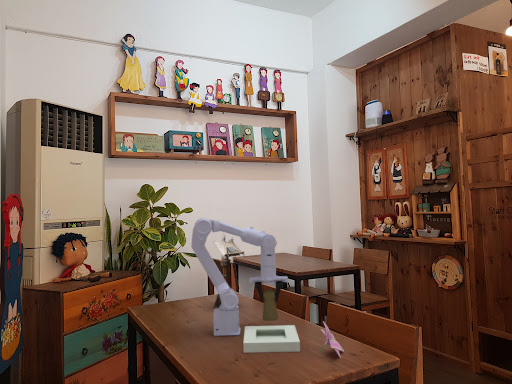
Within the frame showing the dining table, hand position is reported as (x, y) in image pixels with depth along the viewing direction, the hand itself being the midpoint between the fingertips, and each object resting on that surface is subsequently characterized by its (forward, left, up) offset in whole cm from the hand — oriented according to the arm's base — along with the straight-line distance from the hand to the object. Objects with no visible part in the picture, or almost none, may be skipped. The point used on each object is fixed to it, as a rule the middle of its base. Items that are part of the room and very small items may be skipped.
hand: (269, 301), depth 146 cm
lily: (+18, -26, -11) cm, 34 cm away
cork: (0, 0, -7) cm, 7 cm away
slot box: (0, -15, -10) cm, 18 cm away
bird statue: (-17, +32, -11) cm, 38 cm away
